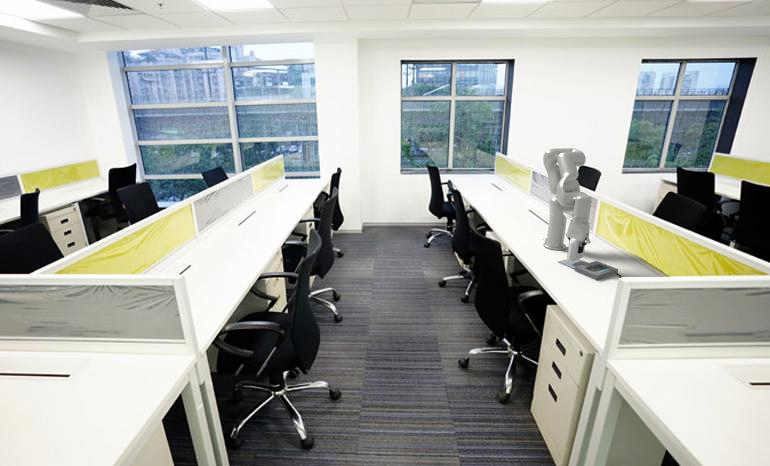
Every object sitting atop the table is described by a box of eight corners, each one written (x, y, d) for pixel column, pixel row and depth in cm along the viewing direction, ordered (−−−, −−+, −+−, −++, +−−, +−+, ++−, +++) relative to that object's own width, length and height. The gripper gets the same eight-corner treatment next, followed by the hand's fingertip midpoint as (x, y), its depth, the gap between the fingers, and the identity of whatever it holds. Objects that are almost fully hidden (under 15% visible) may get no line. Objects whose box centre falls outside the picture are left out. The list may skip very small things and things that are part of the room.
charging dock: (574, 271, 188) (575, 266, 187) (595, 265, 194) (596, 260, 193) (595, 280, 178) (596, 274, 177) (617, 273, 184) (618, 268, 183)
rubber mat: (557, 262, 199) (557, 261, 199) (574, 257, 204) (574, 257, 204) (573, 269, 191) (573, 268, 190) (590, 264, 195) (590, 263, 195)
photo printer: (577, 255, 201) (579, 234, 197) (584, 257, 197) (587, 236, 193) (565, 259, 196) (568, 237, 192) (573, 261, 192) (575, 239, 188)
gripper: (561, 216, 195) (557, 247, 201) (590, 224, 180) (584, 257, 186) (571, 214, 198) (567, 245, 204) (600, 221, 183) (595, 255, 189)
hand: (575, 250), depth 195 cm, fingers closed on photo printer, 4 cm apart
